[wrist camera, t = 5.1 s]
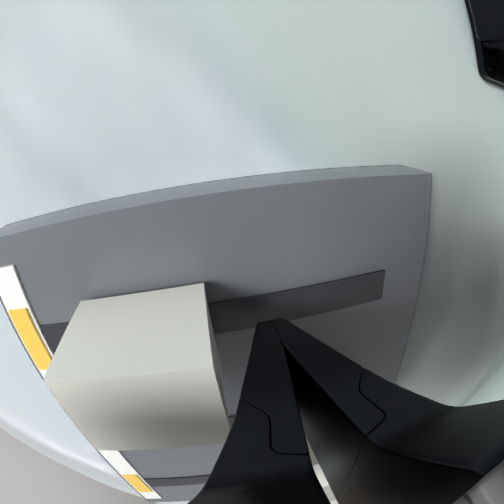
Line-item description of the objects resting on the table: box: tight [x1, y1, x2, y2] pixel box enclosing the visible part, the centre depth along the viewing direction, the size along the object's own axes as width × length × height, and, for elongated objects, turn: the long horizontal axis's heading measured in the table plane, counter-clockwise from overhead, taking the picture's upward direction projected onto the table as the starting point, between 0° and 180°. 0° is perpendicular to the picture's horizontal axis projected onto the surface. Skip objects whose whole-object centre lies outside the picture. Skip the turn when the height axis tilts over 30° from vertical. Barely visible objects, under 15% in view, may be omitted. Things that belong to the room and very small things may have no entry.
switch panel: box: [0, 165, 432, 502], centre depth 13 cm, size 16×20×2 cm
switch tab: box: [43, 283, 231, 451], centre depth 8 cm, size 4×3×4 cm
